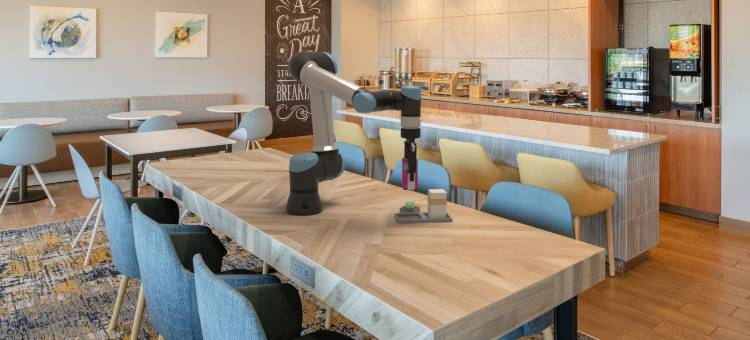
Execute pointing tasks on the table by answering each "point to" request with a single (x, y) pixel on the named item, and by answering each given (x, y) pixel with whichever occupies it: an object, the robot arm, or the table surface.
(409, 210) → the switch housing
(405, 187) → the supplement box
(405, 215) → the grey divided tray
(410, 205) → the button
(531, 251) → the table surface
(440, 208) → the box
